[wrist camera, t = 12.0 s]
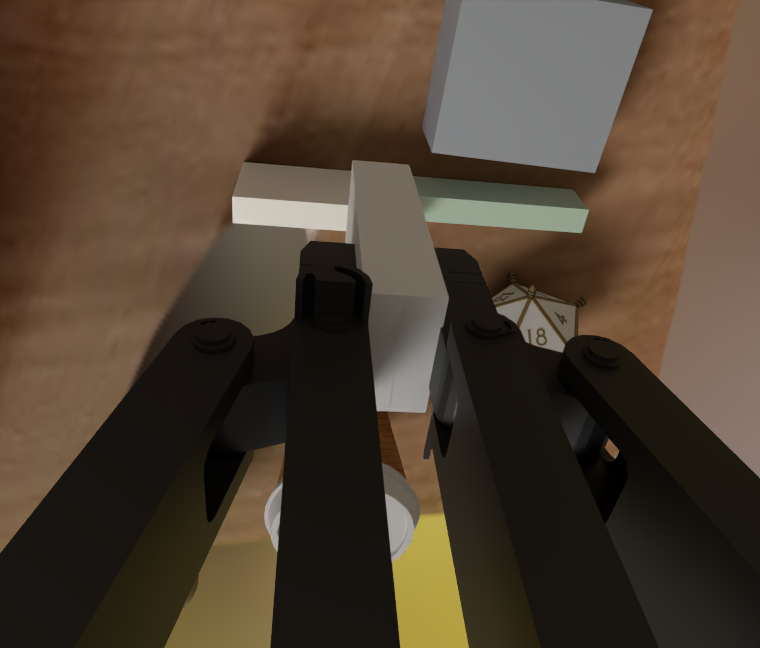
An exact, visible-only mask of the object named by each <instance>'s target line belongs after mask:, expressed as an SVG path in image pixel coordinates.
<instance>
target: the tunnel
mask: <svg viewBox="0 0 760 648" xmlns="http://www.w3.org/2000/svg"><path fill="white" fill-rule="evenodd" d="M413 179H414V183H415V186H416V189H417V193H418V196H419V199H420V203H421V206H422V209H423V213H424V216H425V219H426V221H427V222H440V223H454V224H467V225H480V226H494V227H507V228H520V229H534V230H547V231H561V232H574V233H582V231H583V227H584V224H585V221H586V218H587V215H588V212H589V209H588V208H587V206H586V205H585V204H584V203H583V201H582V200H581V199H580V198H579V196H578V195H577V194H576V193H575V191H574V190H573V189H562V188H550V187H538V186H526V185H514V184H502V183H490V182H478V181H466V180H454V179H442V178H430V177H418V176H413ZM350 181H351V171H346V170H334V169H322V168H310V167H298V166H286V165H274V164H262V163H250V162H243V165H242V168H241V171H240V174H239V177H238V180H237V183H236V186H235V189H234V193H233V196H232V208H233V223H240V224H254V225H268V226H282V227H296V228H309V229H323V230H337V231H346V227H347V216H348V204H349V193H350Z"/></svg>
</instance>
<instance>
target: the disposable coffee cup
mask: <svg viewBox="0 0 760 648" xmlns="http://www.w3.org/2000/svg"><path fill="white" fill-rule="evenodd" d="M377 418H378V428H379V438H380V448H381V458H382V468H383V479H384V489H385V499H386V509H387V519H388V529H389V540H390V550H391V560H392V562H393V561H394V560H395V559H397V558H398V557H399V556H401V555H402V554H403V553H404V552H405V550H406V548H407V547H408V546H409V544H410V543H411V541H412V537H413V532H414V530H415V528H416V525H417V523H418V520H419V514H420V506H419V503H418V499H417V496H416V493H415V491H414V490H413V489H412V488H411V486H410V485H409V483H408V482H407V480H406V477H405V473H404V470H403V467H402V463H401V459H400V455H399V452H398V448H397V446H396V442H395V439H394V435H393V432H392V428H391V424H390V421H389V418H388V415H387V411H377ZM284 457H285V455H284ZM283 470H284V459H283V462H282V467H281V470H280V475H279V478H278V483H277V485H276V487H275V488H274V490H273V491H272V493H271V495H270V497H269V499H268V500H267V503H266V506H265V515H264V518H265V525H266V527H267V529H268V532H269V534H270V535H271V539H272V543H273V545H274V547H275V549H276V551H277V552H278V539H279V525H280V511H281V498H282V484H283Z"/></svg>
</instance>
